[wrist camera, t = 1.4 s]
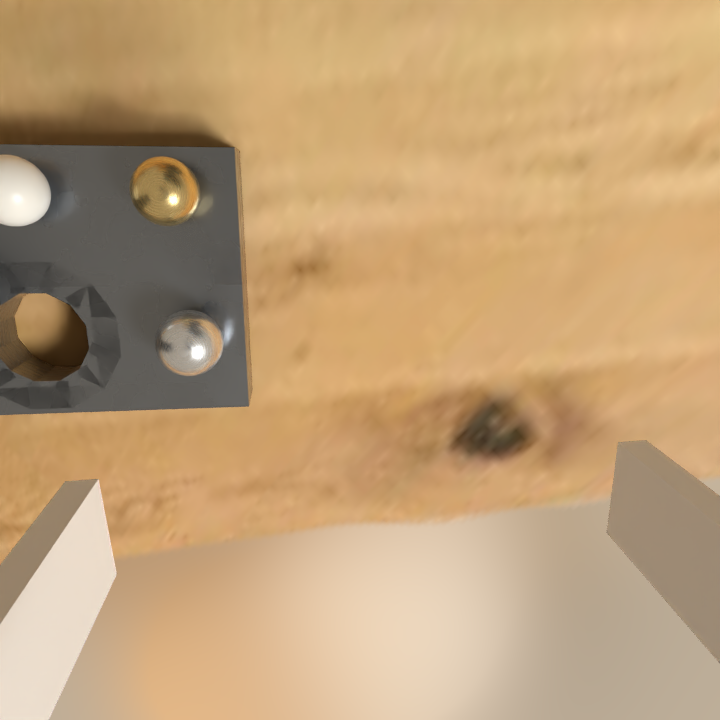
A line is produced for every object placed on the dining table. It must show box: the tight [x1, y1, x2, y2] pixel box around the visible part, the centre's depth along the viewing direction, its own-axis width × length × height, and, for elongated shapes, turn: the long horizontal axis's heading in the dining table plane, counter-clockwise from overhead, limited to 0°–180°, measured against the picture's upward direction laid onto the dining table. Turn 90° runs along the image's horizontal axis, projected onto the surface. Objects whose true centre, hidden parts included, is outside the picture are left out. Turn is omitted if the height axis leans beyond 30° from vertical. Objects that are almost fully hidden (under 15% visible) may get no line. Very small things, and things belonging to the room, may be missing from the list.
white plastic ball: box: [0, 154, 51, 226], centre depth 24 cm, size 3×3×3 cm
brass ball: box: [129, 156, 200, 226], centre depth 25 cm, size 3×3×3 cm
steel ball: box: [154, 310, 224, 376], centre depth 27 cm, size 3×3×3 cm
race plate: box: [0, 144, 252, 415], centre depth 29 cm, size 13×14×2 cm
